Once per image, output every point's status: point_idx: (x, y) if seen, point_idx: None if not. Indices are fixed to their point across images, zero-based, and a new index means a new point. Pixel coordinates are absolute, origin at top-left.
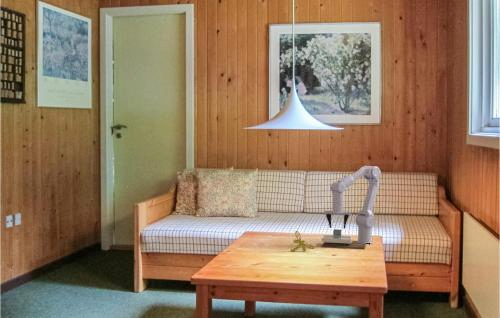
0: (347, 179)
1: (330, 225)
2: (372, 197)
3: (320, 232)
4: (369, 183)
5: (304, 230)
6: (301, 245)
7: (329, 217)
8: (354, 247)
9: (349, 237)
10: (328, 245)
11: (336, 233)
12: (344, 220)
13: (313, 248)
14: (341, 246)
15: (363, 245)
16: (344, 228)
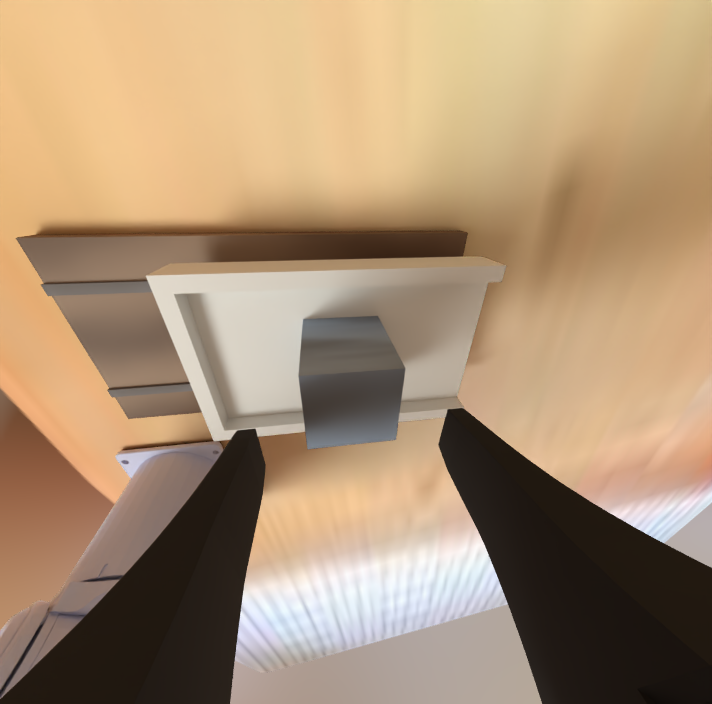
0: None
1: (476, 432)
2: None
3: (434, 556)
4: None
5: (489, 558)
6: None
7: (680, 610)
8: (142, 235)
9: (240, 421)
10: (407, 237)
11: (353, 349)
12: (166, 600)
13: None
14: (280, 233)
15: (95, 338)
16: (240, 431)
